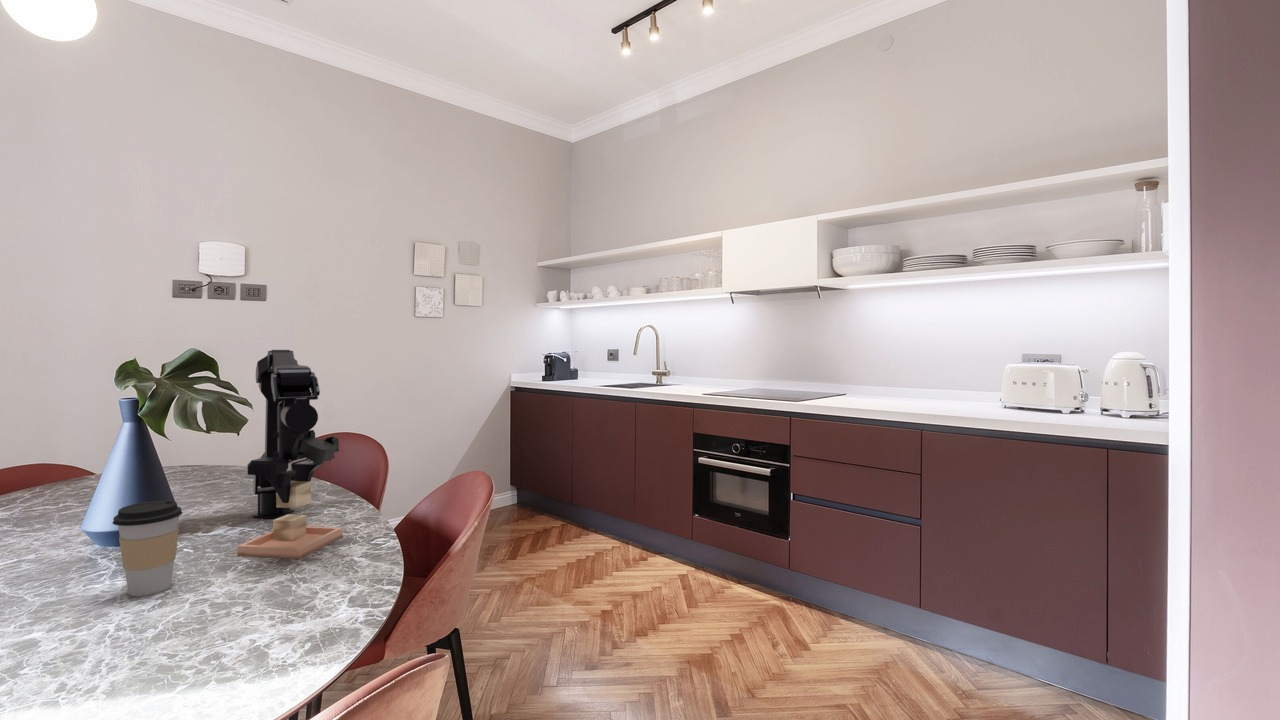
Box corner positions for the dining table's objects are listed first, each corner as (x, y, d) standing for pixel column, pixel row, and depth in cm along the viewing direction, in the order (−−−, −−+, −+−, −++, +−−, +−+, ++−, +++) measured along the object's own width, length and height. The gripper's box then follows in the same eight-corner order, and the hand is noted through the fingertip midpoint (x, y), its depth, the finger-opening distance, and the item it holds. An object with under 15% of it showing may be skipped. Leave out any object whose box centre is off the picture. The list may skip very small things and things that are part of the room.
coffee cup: (196, 580, 106) (195, 500, 106) (148, 602, 97) (147, 515, 97) (150, 577, 107) (149, 498, 107) (98, 599, 98) (96, 513, 97)
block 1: (276, 507, 119) (276, 485, 119) (292, 501, 124) (292, 480, 124) (296, 508, 119) (296, 486, 119) (311, 502, 123) (311, 481, 123)
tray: (237, 555, 119) (237, 546, 119) (286, 533, 133) (286, 525, 133) (299, 559, 117) (299, 549, 117) (342, 536, 131) (342, 527, 131)
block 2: (273, 540, 126) (273, 520, 126) (288, 533, 131) (288, 514, 131) (292, 541, 126) (291, 521, 126) (306, 534, 130) (306, 515, 130)
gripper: (297, 434, 111) (297, 514, 111) (356, 421, 129) (356, 490, 129) (244, 432, 112) (245, 511, 112) (310, 420, 130) (311, 488, 131)
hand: (294, 499), depth 121 cm, fingers closed on block 1, 4 cm apart
